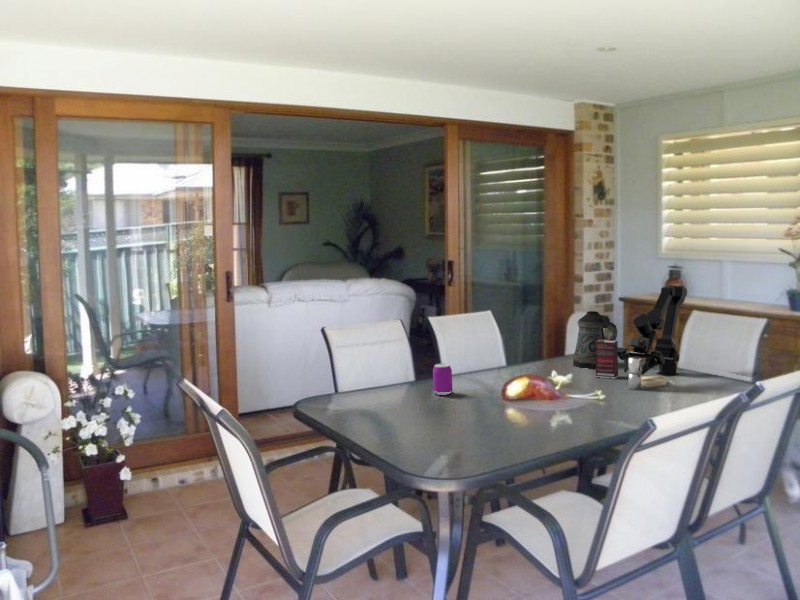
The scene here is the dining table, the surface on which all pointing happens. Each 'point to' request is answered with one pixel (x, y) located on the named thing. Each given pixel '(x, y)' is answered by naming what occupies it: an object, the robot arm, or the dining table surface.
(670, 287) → the robot arm
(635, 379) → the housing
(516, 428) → the dining table surface
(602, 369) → the supplement box
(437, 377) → the beverage can
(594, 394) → the dining table surface
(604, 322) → the beer stein
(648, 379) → the birch stand
